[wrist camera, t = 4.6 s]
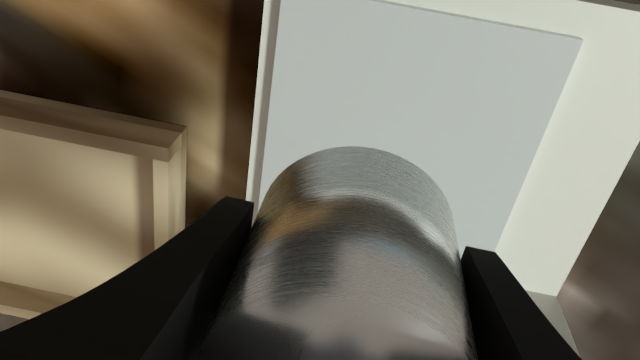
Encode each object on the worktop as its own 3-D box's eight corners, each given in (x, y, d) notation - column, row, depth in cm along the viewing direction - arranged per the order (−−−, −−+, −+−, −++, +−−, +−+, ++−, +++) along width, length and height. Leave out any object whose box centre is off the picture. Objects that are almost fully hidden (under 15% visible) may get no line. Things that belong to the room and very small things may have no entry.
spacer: (425, 321, 13) (438, 513, 9) (251, 285, 13) (189, 459, 9) (481, 169, 10) (532, 336, 6) (270, 127, 11) (197, 268, 7)
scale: (469, 423, 28) (496, 617, 20) (235, 374, 28) (179, 546, 21) (676, 11, 16) (903, 114, 9) (279, -62, 17) (190, -21, 9)
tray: (183, 318, 26) (168, 348, 25) (-22, 275, 27) (-50, 302, 25) (187, 126, 21) (168, 148, 19) (-72, 75, 21) (-114, 92, 19)
